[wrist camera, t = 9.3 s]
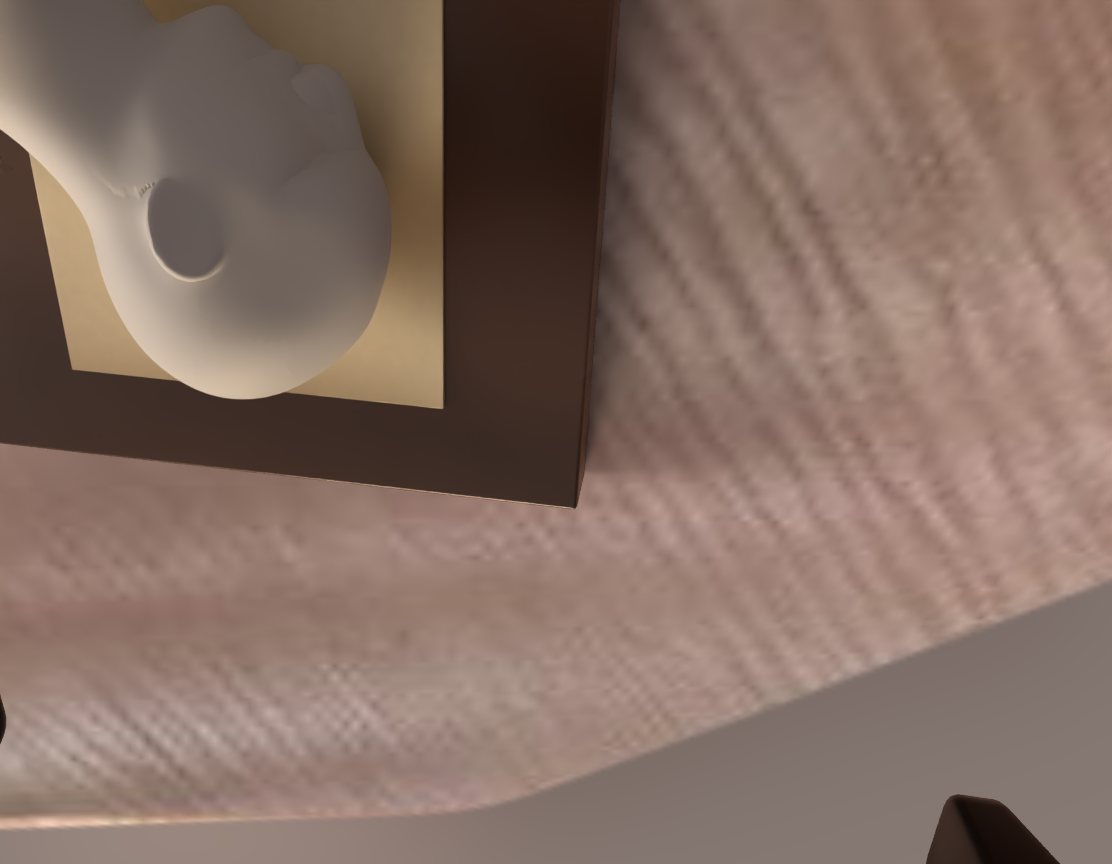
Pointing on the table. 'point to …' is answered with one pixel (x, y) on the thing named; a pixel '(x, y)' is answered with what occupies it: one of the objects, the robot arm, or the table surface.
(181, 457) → the flat display stand
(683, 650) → the table surface
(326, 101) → the smooth white sculpture
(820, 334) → the table surface
